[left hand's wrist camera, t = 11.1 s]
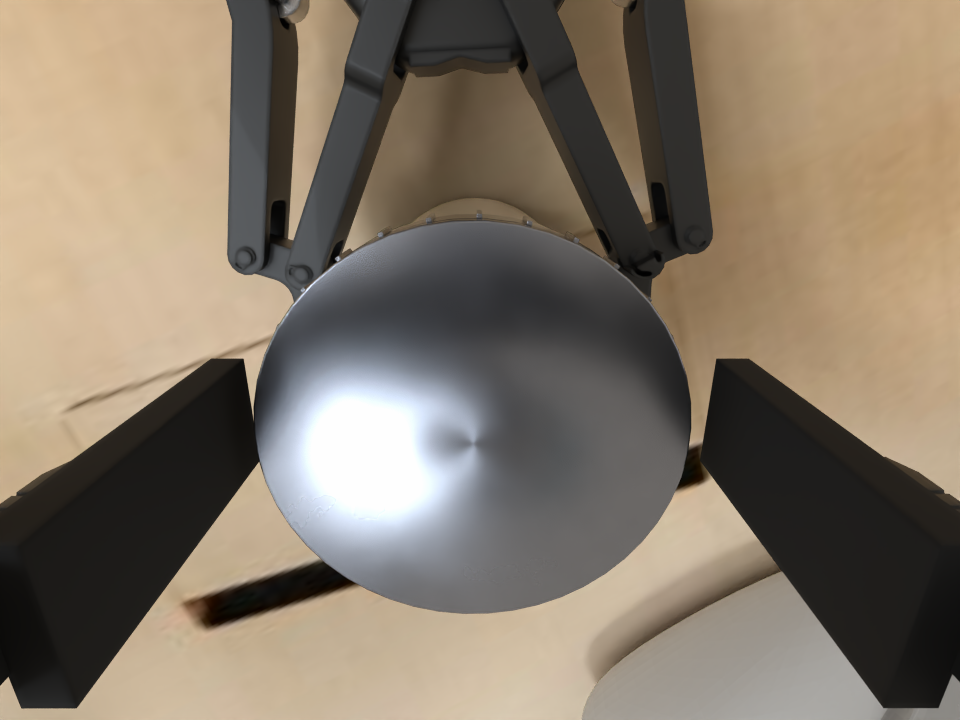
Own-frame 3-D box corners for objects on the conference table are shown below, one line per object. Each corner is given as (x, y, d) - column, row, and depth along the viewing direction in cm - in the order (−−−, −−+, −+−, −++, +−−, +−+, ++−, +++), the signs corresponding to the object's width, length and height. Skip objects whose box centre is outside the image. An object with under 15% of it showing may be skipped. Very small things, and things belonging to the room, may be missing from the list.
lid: (663, 559, 15) (684, 603, 13) (313, 582, 15) (295, 627, 14) (680, 193, 12) (711, 197, 10) (234, 228, 12) (199, 237, 10)
